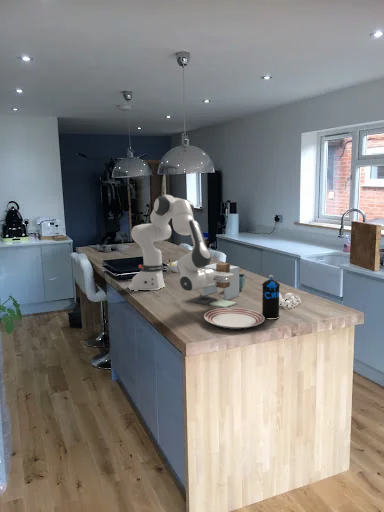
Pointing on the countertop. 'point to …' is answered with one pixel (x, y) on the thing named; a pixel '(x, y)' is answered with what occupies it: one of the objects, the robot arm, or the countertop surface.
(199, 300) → the trap pit
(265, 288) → the aerosol can
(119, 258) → the countertop surface
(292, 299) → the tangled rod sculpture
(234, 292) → the tunnel
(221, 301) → the tile
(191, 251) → the robot arm
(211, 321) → the dinner plate
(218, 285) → the walnut block
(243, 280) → the flower pot
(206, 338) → the countertop surface
